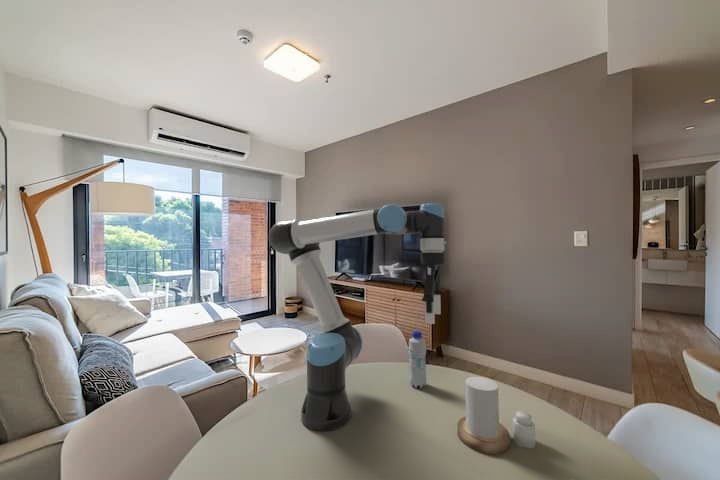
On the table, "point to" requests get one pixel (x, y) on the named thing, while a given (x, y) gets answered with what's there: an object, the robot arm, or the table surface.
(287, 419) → the table surface
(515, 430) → the white knobbed rounded part
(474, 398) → the white cylindrical piece
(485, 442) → the brown wooden plate
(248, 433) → the table surface
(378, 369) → the table surface
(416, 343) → the bottle
